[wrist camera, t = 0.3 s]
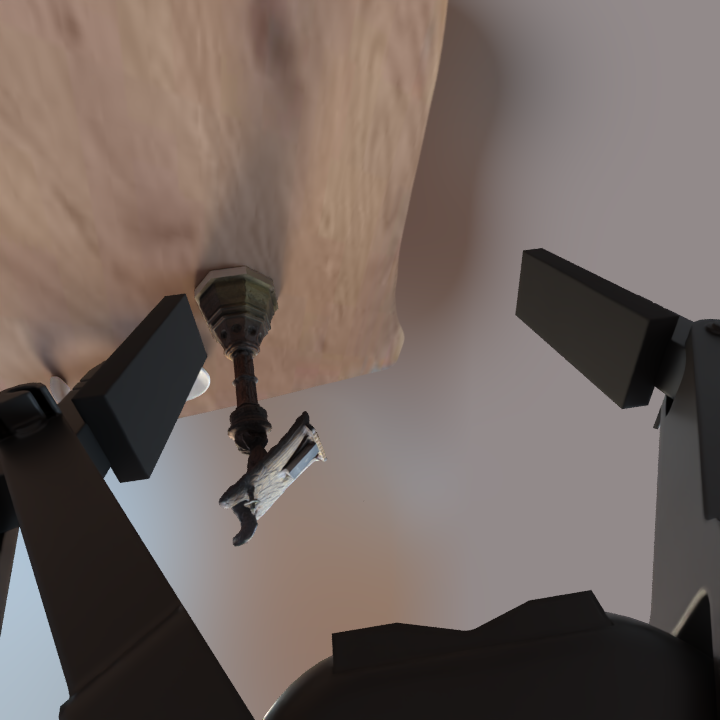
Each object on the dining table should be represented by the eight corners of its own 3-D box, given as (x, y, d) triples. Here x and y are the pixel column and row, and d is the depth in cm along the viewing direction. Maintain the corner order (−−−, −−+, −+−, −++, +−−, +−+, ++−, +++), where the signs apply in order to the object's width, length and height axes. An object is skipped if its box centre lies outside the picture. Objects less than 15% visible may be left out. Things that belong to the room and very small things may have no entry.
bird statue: (302, 245, 53) (364, 502, 34) (312, 308, 64) (363, 529, 45) (177, 265, 51) (171, 551, 32) (209, 327, 62) (219, 567, 43)
